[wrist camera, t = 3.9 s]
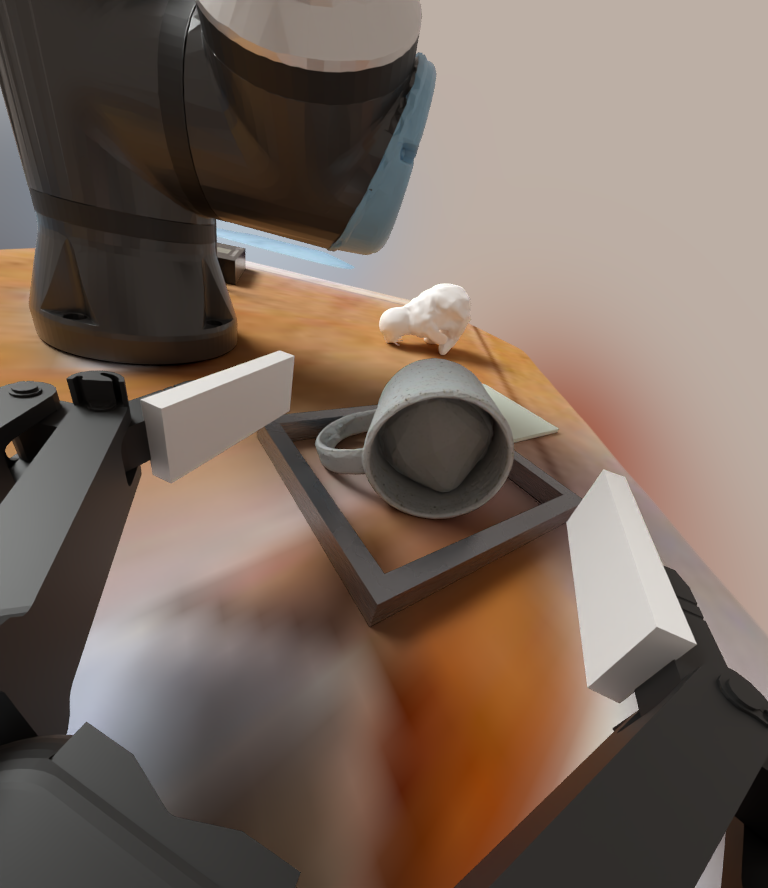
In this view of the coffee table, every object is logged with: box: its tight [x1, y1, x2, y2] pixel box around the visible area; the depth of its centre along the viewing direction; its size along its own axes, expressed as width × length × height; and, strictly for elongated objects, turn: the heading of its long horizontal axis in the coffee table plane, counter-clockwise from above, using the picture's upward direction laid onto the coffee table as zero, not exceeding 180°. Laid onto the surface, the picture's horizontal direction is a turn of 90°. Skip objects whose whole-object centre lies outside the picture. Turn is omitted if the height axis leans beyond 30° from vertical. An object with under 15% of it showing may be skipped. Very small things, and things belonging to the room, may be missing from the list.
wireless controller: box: [214, 219, 245, 285], centre depth 54 cm, size 20×14×17 cm
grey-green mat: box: [482, 384, 559, 443], centre depth 34 cm, size 10×10×1 cm
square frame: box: [257, 405, 582, 627], centre depth 22 cm, size 14×16×2 cm
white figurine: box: [379, 284, 471, 355], centre depth 47 cm, size 6×8×12 cm
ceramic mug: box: [315, 358, 514, 519], centre depth 21 cm, size 11×8×8 cm
